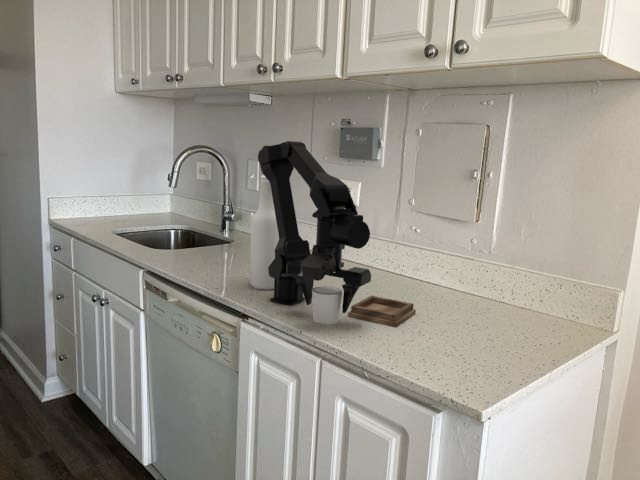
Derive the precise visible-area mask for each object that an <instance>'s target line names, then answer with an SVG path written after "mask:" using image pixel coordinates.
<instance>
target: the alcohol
mask: <svg viewBox="0 0 640 480" xmlns="http://www.w3.org/2000/svg"><path fill="white" fill-rule="evenodd" d="M260 178H261V179H260V194H259V202H258V203H259V204H258V209H257V211H256V212H255V213H254V214H253V216H252V218H251V221H250V262H249V263H250V270H249V271H250V273H249V274H250V277H249V284H250V285H251V287H252V288H254V289H257V290H265V291H267V290H268V291H269V290H270V291H271V290H274V278H272V277H270V276H269V271H268V267H269V266H270V264H271V263H272V262H273V260H274V259H275V248H276V246H277V243H278V241H279V234H278V228H277V222H276V216H275V210H274V204H273V198H272V191H271V185H270V182H269V181H268V179H267V178H266V177H265V176H264V175H262V174H261V176H260Z"/></svg>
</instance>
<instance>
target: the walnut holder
mask: <svg viewBox="0 0 640 480" xmlns="http://www.w3.org/2000/svg"><path fill="white" fill-rule="evenodd" d="M416 311H417V310H416V309H414V303H412V302H406V301H401V300H398V299H390V298H386V297H381V296H375V295H370V296H368V297H366V298H364V299H363V300H361V301H358V302H356V303H355V304H353V305H351V308H350V311H348V312H347V317H348V318H350V319H351V318H352V319H356V320H362V321H366V322H369V323H370V322H371V323H375V324H380V325H385V326H388V327H393V328H398V327H399V326H400V325H402V324H404V323H405V322H406V321H408V320H409V319H411V318H412V317H414V316H415V315H416Z"/></svg>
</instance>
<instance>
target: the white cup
mask: <svg viewBox="0 0 640 480" xmlns="http://www.w3.org/2000/svg"><path fill="white" fill-rule="evenodd" d="M342 299H343V289H341V288H339V287H334V286H325V285H324V286H316V287H315V286H314V287H313V289H312V300H311V303H312V317H313V322H315V323H317V324H322V325H333V324H337V323H338V322H339V317H340V310H341V303H342Z"/></svg>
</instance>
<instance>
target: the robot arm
mask: <svg viewBox="0 0 640 480" xmlns="http://www.w3.org/2000/svg"><path fill="white" fill-rule="evenodd" d="M257 161H258V164H259V167H260V170H261V174H263V175H264V176H265V177H266V178H267V179H268V181H269V182H270V185H271V191H272V198H273V204H274V210H275V216H276V222H277V228H278V234H279V241H278V243H277V246H276V248H275V259H274V260H273V262H272V263H271V264H270V266H269V267H268V271H269V276H270V277H272V278H274V289H273V297H270V299H269V300H270V302H273V303H274V302H275V303H279V304H283V305H288V306H294V305H295V304H297V303H300V302H302V301H304V300H305V303H306V305H307V306H310V305H311V304H312V289H313V288H314V282H315V281H317V282H319V281H322V280H323V279H324V278H325V276H329V277H334V278H339V279H343V282H344V284H342V285H341V287H342V291H343V294H342V308H341V309H342V314H345V313H347V311H348V309H349V307H350V305H351V303H352V301H353V299H354V297H355V295H356V293H357V292H358V290H359V288H361V287H363V286H365V285H366V284H369V283H371V282H372V272H371V271H370V269H369V268H364V267H358V266H357V267H356V266H353V267H350V268H348V269H342V268H344V265H345V262H343V261H342V257H343V255H342V254H343V253H342V252H343V250H345V249H346V248H345V247H350V248H353V249H358V250H359V249H361V248H364V247H365V246H367V244H368V243H369V240H370V237H371V231H370V227H369V225H368V223H367V222H365V221H364V216H363V215H362V214H358V210H357V206H356V205H355V203H354V200H353V197H352V195H351V192H350V189H349V187H348V185H347V184H346V183H344V182H343V181H342V180H341V179H339V178H337V177H335V176H333V175H331V174H329V173H328V172H326V170H325V169H324V168H323V167H322V166H321V164H320V163H319V161H317V160H316V159H315V157H314V156H313V155H312V154H311V152H310V151H309V150H308V149H307V146H306V144H305V143H304V142H303V141H294V140H293V141H292V140H286V141H283V142H281V143H279V144H275V145H274V144H273V145H263V146H262V148H261V149H260V150H259V151H258V152H257ZM294 170H296V172H297V173H298V174H299V176H300V177H301V178H302V179H303V180H304V183H306V185H307V186H308V187H309V197H310V199H311V201H312V203H313V204H314V206H315V207H316V208H317V209H316V211H314V212H313V213H312V214H311V215H312V216H311V217H312V218H315V219H316V220H317V221H316V222H317V223H316V240H315V241H316V242H315V244H313V245H312V247H311V248H312V250H311V251H310V249H311V248H310V243H309V241H308V240H307V239H303V238H302V237H301V235H300V233H299V227H298V222H297V217H296V209H295V203H294V198H293V191H292V187H291V176H292V173H293V171H294Z"/></svg>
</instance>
